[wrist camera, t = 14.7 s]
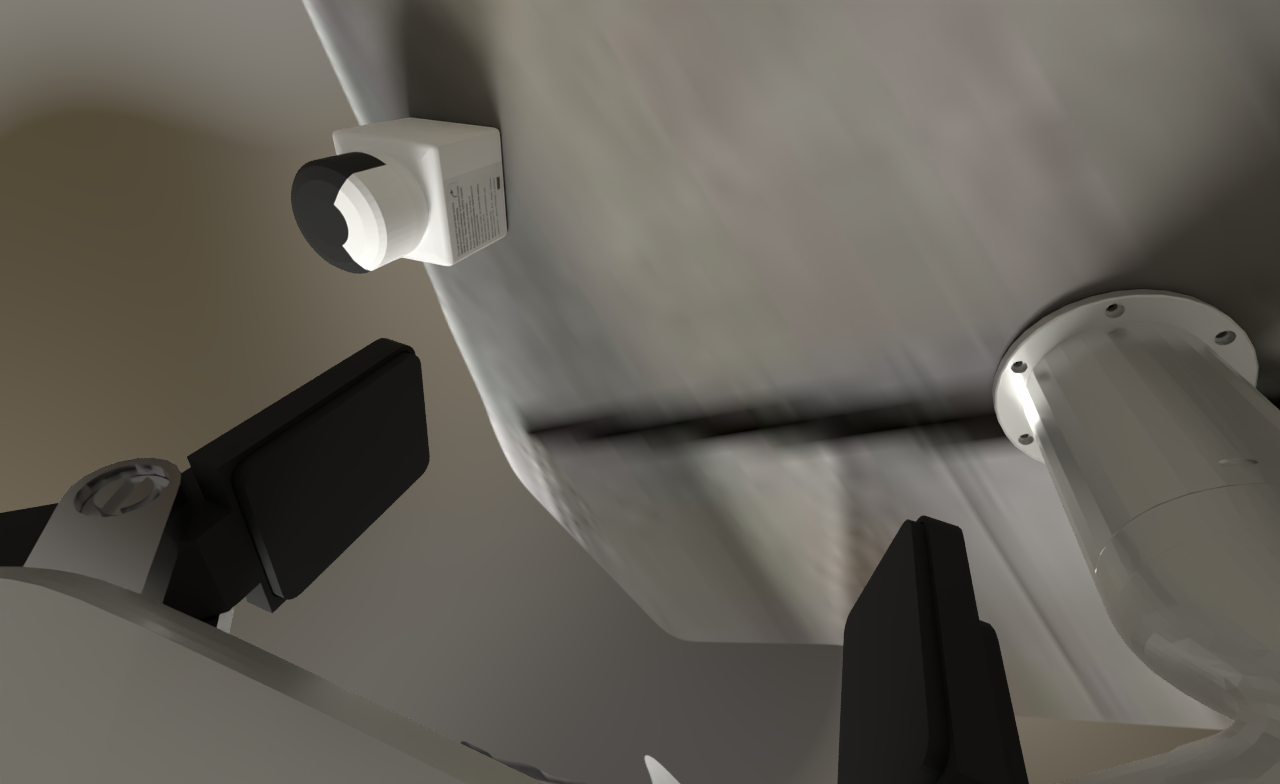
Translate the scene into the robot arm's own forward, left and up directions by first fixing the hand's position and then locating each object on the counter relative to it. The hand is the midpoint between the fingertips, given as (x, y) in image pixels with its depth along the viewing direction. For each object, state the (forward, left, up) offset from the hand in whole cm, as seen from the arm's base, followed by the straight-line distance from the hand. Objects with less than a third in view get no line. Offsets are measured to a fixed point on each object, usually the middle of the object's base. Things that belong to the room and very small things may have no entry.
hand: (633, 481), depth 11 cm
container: (+24, +6, -31) cm, 39 cm away
